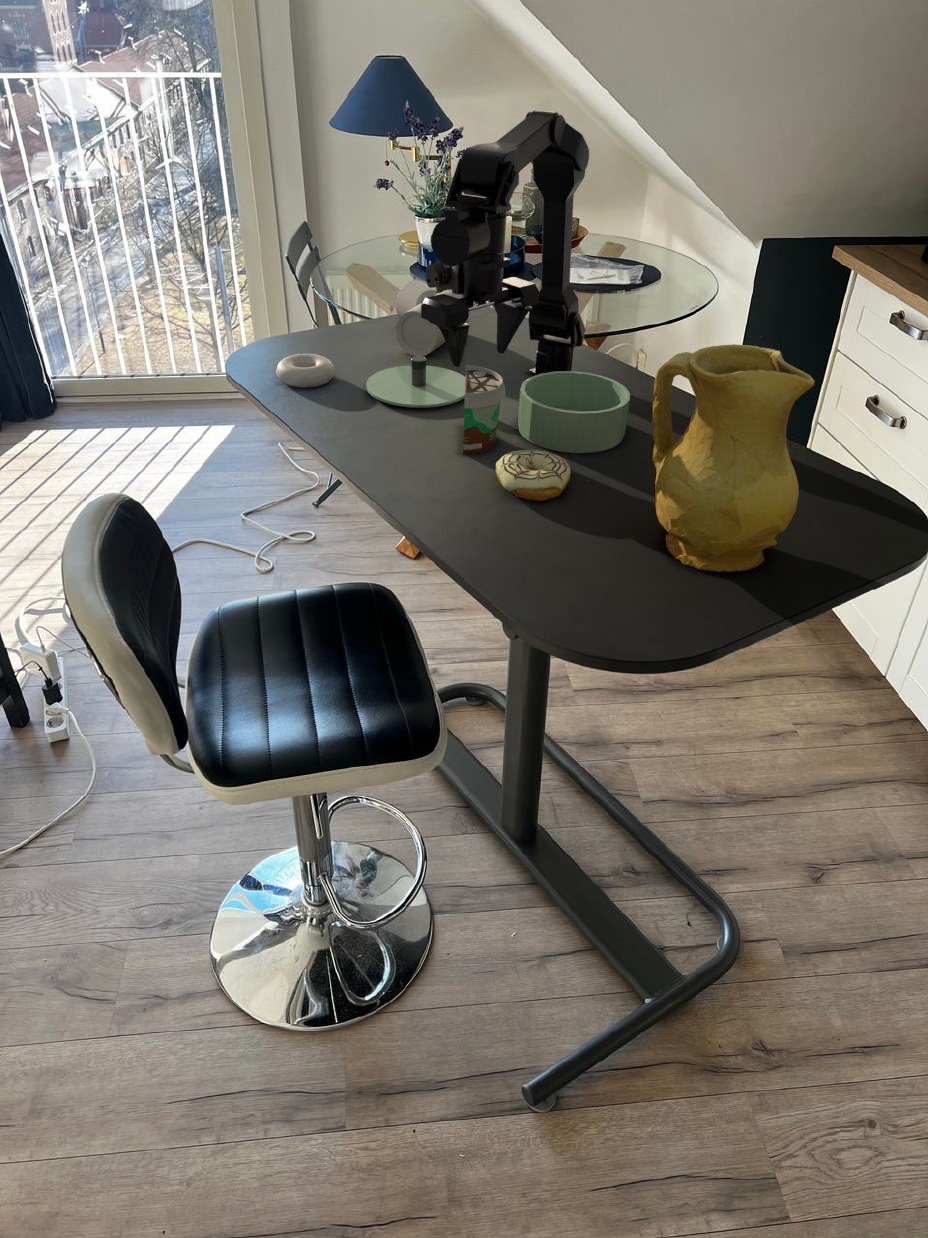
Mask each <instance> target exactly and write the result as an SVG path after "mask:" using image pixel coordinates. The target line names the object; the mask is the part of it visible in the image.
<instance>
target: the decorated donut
mask: <svg viewBox="0 0 928 1238" xmlns="http://www.w3.org/2000/svg"><path fill="white" fill-rule="evenodd" d="M571 472H572V471H571V467H570V465H569V463H568V462H567V461H566V460H565V459H564V458H563V457H561V456H559V455H557V454H555V453H552V452H549V451H547V450H546V451H545V450H541V449H520V450H514V451H510V452H507V453H505V454H504V455H503V456H501V457H500V459H498V460H497V461H496V463H495V473H496V477H497V479H498V482H499V483H500V486H502V487H503V488H504V489H505V490H506V491H508V492H509V493H511V494H512V495H514V497H516V498H521V499H524V500H528V501H530V500H531V501H539V502H544V501H546V500H549V499H554V498H556V497H559V496H560V495H561V494H562V493H563V491H564V490H565V489H566V487H567V486H568V484H569V482H570V479H571V474H572V473H571Z"/></svg>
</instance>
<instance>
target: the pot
mask: <svg viewBox="0 0 928 1238" xmlns="http://www.w3.org/2000/svg"><path fill="white" fill-rule="evenodd" d="M518 401H519V404H518V416H517V417H518V419H517V429H518V431H519V433H520V435H521V436H522V438H524V439H525V440H527V441H528V442H529V443H531V444H534V445H536V446H538V447H540V448H544V449H547V450H552V451H554V452H555V451H556V452H561V453H571V454H591V453H598V452H602V451H606V450H609V449H612V448H615V447H616V446H618V445H619V444H621V442H622V441H623V440H624V438H625V434H626V430H627V429H626V428H627V423H628V422H627V420H628V414H629V407H630V401H631V393H630V391H629V390H628V388H627V387H626V386H624V385H623V384H621V383H620V382H618V380H615V379H612V378H609V377H607V376H604V375H600V374H595V373H590V372H585V371H584V372H582V371H577V372H574V371H557V372H549V373H543V374H539V375H533V376H530V377H528V378H527V379H525V380H524V381H523V382H522V384H521V386H520V389H519V400H518Z"/></svg>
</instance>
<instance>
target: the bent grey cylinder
mask: <svg viewBox="0 0 928 1238" xmlns="http://www.w3.org/2000/svg"><path fill="white" fill-rule="evenodd" d="M440 294H446V295H449V296H452V297H455V298H458V299H460V298H463V297H462V295H461V294H459V295H457V294H454V293H452V290H451V289H449V290H444V291H443V292H441V293H437V290H436V287H434V288H429V286H428V285H427V283H425V282H424V281H420V280H411V281H408V282H407V283H405V284H404V285H403V286H402V287H401V288H400V289H399V291H398V293H397V295H396V299H395V311H396V314H397V316H398V319H397V322H396V325H395V336H396V339H397V342H398V344H399V346H400V347H401V348H402V350H403V351H405V352H406V353H407V354H409V355H411V356H412V357H414V356H422V357H425V356H427V355H429V354H430V353H432V352H433V351H435V350H437V349H438V348H439V347H441V346H442V345H443V344H444V343H445V344H446V342H445V339H444V337H443V335H442V332H441V331H440V329H439V328H438V327H437V325H434V324H431V323H430V322H429V321H428V320H426V319H423V318H421V303H422V302H423V300H424V299H425V298H427V297H431V296H435V295H440ZM465 323H466V324H469V325H470V320H469V318H468V319H467V321H466V322H465ZM469 331H470V329H469V330H468V333H469Z"/></svg>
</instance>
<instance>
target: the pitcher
mask: <svg viewBox="0 0 928 1238" xmlns="http://www.w3.org/2000/svg"><path fill="white" fill-rule="evenodd" d="M676 376H682V377H683V378H685V379H687V380H688V381H689V385H690V386H691V389H692V391H693V394H694V397H695V400H694V401H695V402H694V405H695V406H694V409H693V412H692V414H691V417H690V420H689V424H688V426H687V427H686V429H685V431H684V432H683V434H682V435H681V437H680V438H678V440H677V441H674V439H673V420H672V406H671V393H672V386H673V383H674V378H675V377H676ZM815 383H816V381H815V380H814V378H813V377H812V376H811V374H809V373H806V372H805V371H803V370H801V369H799V368H797V367H795V366H793V365H791V364H789V363H788V362H786V361H785V360H784V358H783V355H782V352H781V351H780V350H776V349H774V348H768V347H767V348H766V347H760V346H757V345H748V344H735V343H734V344H723V345H722V344H720V345H711V346H706V347H702V348H699V349H697V350H696V351H694V352H689V351H688V352H687V351H684V352H679V353H676V354H675V355H673V356H672V357H670V358H669V360H668V361H667V362H664V364H662V366H660V368H659V369H658V370H657V372H656V374H655V377H654V383H653V396H654V401H653V402H652V416H651V417H652V418H651V419H652V420H651V422H652V424H653V432H652V434H653V435H652V439H653V441H654V446H653V450H652V461H653V463H654V467H655V470H656V475H655V476H656V477H655V482H654V493H655V497H654V498H655V499H654V500H655V501H654V504H655V510H656V512H655V513H656V517H657V520H658V522H659V524H660V525H661V526H662V527H663V528H664V530H666V532H667V533H668V534H666V535H665V546H666V548H667V550H668V552H669V553H670V555H671V556H673V557H674V558H675V559H676V560H679V561H680V562H681V564H683V565H685V566H689V567H690V566H691V567H693V568H695V569H697V570H701V571H711V572H717V573H721V572H729V573H731V572H735V571H737V572H741V571H748V570H751V569H754V568H756V567H759V566H760V565H761V564H762V563H764V561H765V556H764V553H763V551H764V550H766V549H767V548H770V547H772V546H775V545H777V544H778V541H777V540H776V537H777V536H778V534H780V533H783V532H785V530H786V529H787V527H788V526H789V524H790V523H791V521H792V519H793V517H794V516H795V513H796V511H797V507H798V501H799V494H800V492H799V486H800V485H799V480H798V477H797V474H796V471H795V468H794V465H793V464H792V460H791V457H790V453H789V449H788V448H789V447H788V446H787V445H788V443H787V427H788V422H789V419H790V418H789V417H790V413H791V411H792V408H793V406H794V403H795V402H796V401H797V400H798V399H799V398H800V397H801V396H802V395H804V393H806V392H807V391H809V390H810V389H811V388H813V387H814V386H815Z"/></svg>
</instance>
